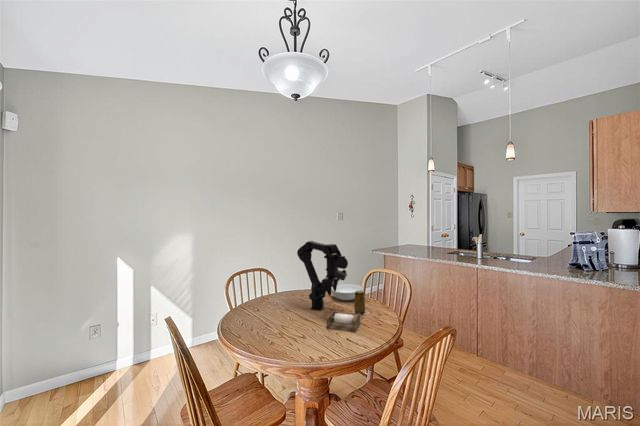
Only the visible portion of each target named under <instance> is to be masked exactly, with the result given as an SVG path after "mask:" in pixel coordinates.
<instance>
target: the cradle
mask: <svg viewBox="0 0 640 426" xmlns="http://www.w3.org/2000/svg"><path fill="white" fill-rule="evenodd" d="M335 313H336V310H332V312H330V313H329V315H328V316H327V317H326V318H325V319H326V320H325V321H326V330H333V331H334V330H335V331H336V330H337V331H341V332H342V331H343V332H351V333H356V332H357V330H358V329H359V327H360V325H361V315H360V313H358V314H355V317H354V320H353V325H352V326H351V325H343V324H335V323H334V316H335Z"/></svg>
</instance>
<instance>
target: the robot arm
mask: <svg viewBox="0 0 640 426" xmlns="http://www.w3.org/2000/svg"><path fill="white" fill-rule="evenodd" d="M314 250H316V251H318V252H319V251H320V252H322V253H323V254H324V256H323V258H324V259H326V267H325V271H326V275H325V278H323V279H322V280H321V281H320V280H319V277H318V274H317V271H316V268H315V266H314V265H313V262H312V252H313V251H314ZM296 255H297V257H298V259H299V260H300V261H301V262H302V263H303V265H304V267H305V270H306V271H307V272H306V273H307V275H308V277H309V281H310V283H311V287H310V290H311V292H310V294H308V298H309V300H311V307H310V309H311V310H312V311H313V310H315V311H321V310H323V308H325V303H324V302H325V301H324V299H323V298H326V293H327V295H328V296H329V297H331V296H332V287H333V290H334V291H336V288H337V285H338V283H339V281H345V280H346V278H347V276H348V274H347V270H345V269H347V267H348V265H349V262H348V259H347V258H346V256H345V255H342V254H341V251H340V249H339V248H338V245H337V244H336V243H335V244H334V243H329V244H327V243H320V242H317V241H313V240H310V241H307V242H305V243H304V244H303V245H301V246H300V247H299V248H298V249H297V252H296ZM339 269H343V270H339Z"/></svg>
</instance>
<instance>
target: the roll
mask: <svg viewBox="0 0 640 426" xmlns="http://www.w3.org/2000/svg"><path fill="white" fill-rule="evenodd" d="M354 318H355V317H354V314H346V313H339V312H337V313H336V312H335V316H334V323H335V324H343V325H351V326H352V325H353V320H354Z"/></svg>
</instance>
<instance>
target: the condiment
mask: <svg viewBox="0 0 640 426" xmlns="http://www.w3.org/2000/svg"><path fill="white" fill-rule="evenodd" d="M353 300H354V302H353V303H354V311H351V313H352V314H353V315H354V314H355V315H357V314H358V313H360V314H361V315H360V317H363V316H367V315H369V314H370V312H369V311H366V297H365V292H364V291H363V290H362V291H356V292H355V297H354V299H353ZM365 311H366V312H367V313H366V314H364V313H365ZM363 314H364V315H363Z"/></svg>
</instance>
